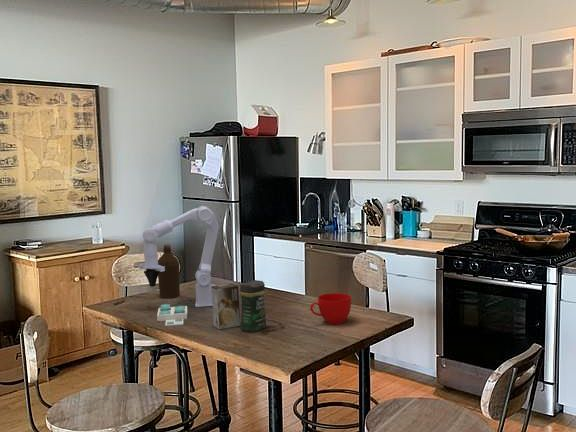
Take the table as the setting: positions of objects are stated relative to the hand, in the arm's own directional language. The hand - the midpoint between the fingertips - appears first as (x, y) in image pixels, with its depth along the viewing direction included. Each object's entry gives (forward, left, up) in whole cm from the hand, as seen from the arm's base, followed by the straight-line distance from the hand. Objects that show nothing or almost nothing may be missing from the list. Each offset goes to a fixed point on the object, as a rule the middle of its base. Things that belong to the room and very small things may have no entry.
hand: (152, 286), depth 260 cm
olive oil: (-6, -23, -11) cm, 26 cm away
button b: (-11, +17, -9) cm, 22 cm away
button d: (-5, +17, -10) cm, 20 cm away
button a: (-11, +11, -10) cm, 19 cm away
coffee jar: (-40, +41, -11) cm, 58 cm away
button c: (-6, +11, -9) cm, 15 cm away
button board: (-9, +14, -10) cm, 19 cm away
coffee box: (-30, +34, -11) cm, 47 cm away
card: (-10, +24, -10) cm, 28 cm away
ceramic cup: (-70, +41, -11) cm, 82 cm away
